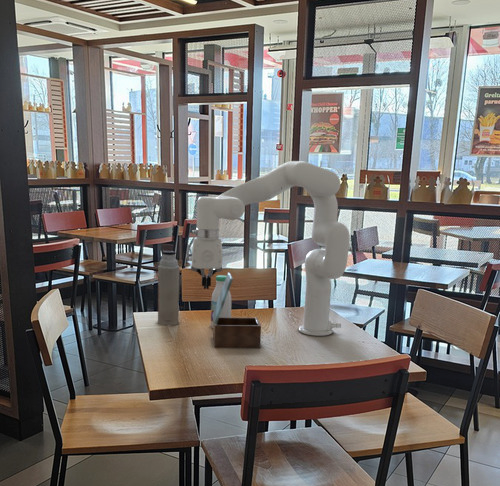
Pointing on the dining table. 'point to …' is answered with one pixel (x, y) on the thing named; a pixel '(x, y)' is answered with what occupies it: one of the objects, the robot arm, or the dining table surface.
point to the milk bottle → (215, 296)
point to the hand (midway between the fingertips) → (206, 288)
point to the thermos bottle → (168, 290)
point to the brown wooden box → (237, 333)
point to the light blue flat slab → (222, 298)
